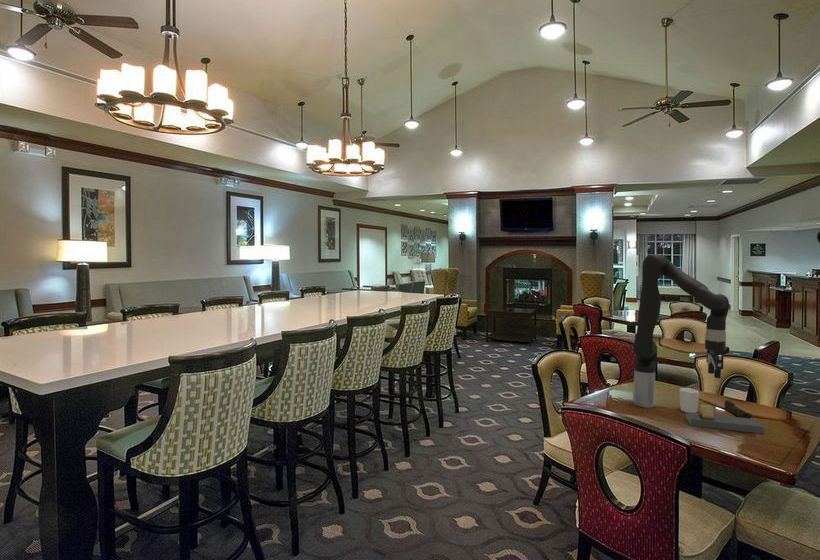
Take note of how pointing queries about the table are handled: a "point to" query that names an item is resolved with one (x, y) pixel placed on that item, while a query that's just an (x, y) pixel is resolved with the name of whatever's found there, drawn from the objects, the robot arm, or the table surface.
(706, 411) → the brass block
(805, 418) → the table surface
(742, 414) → the hand tool
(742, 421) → the post plate
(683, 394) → the white cup
